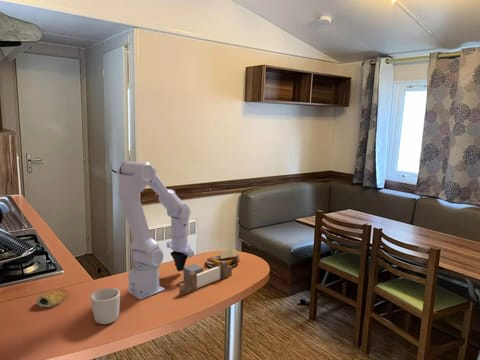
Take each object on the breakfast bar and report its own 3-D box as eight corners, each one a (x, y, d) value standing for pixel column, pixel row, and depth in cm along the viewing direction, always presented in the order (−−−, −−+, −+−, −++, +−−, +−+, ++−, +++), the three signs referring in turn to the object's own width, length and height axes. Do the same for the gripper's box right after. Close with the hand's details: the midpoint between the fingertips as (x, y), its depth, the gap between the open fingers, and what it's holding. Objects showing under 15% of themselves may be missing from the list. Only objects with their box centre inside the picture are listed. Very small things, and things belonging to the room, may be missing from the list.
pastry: (57, 292, 123) (56, 282, 123) (74, 295, 122) (73, 285, 121) (34, 306, 115) (33, 295, 114) (52, 310, 113) (51, 298, 112)
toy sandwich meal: (207, 258, 154) (207, 247, 153) (239, 258, 154) (239, 247, 153) (204, 270, 141) (204, 258, 141) (239, 271, 141) (239, 259, 141)
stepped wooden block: (182, 295, 121) (182, 278, 120) (178, 293, 123) (178, 276, 122) (232, 275, 137) (232, 260, 136) (228, 273, 138) (228, 258, 137)
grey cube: (192, 285, 129) (191, 271, 128) (183, 280, 132) (183, 267, 132) (203, 281, 132) (203, 267, 132) (194, 276, 136) (194, 263, 135)
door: (196, 288, 126) (196, 274, 125) (194, 287, 127) (194, 273, 126) (221, 278, 134) (221, 265, 133) (219, 277, 135) (219, 264, 134)
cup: (83, 315, 109) (81, 290, 108) (109, 306, 115) (108, 281, 113) (99, 330, 102) (97, 303, 100) (126, 319, 107) (125, 294, 106)
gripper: (200, 237, 133) (201, 272, 135) (177, 228, 143) (177, 261, 146) (184, 242, 128) (185, 278, 131) (161, 232, 138) (162, 266, 141)
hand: (180, 270), depth 138 cm, fingers closed
